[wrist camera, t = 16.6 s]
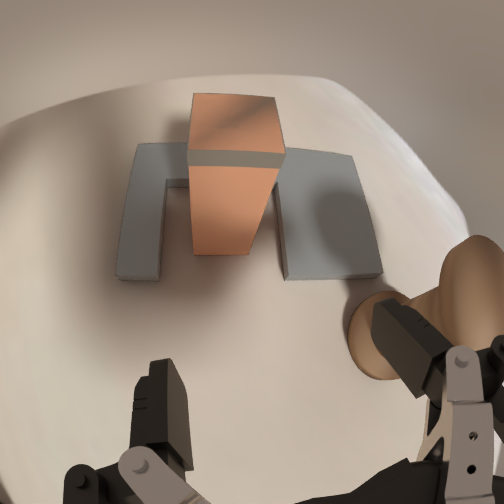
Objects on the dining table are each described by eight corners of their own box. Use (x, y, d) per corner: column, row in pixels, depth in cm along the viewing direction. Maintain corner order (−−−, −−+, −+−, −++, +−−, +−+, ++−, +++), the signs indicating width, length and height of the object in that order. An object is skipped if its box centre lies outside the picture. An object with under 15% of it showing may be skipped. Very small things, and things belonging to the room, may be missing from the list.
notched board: (119, 280, 19) (115, 274, 18) (140, 152, 24) (138, 143, 23) (376, 277, 23) (383, 272, 21) (347, 163, 27) (351, 155, 26)
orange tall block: (193, 255, 21) (187, 150, 11) (194, 207, 23) (193, 93, 13) (248, 255, 22) (286, 154, 12) (245, 207, 23) (274, 97, 13)
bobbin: (352, 387, 19) (467, 384, 9) (342, 297, 21) (439, 231, 11) (421, 370, 20) (529, 349, 10) (410, 292, 23) (506, 237, 12)
